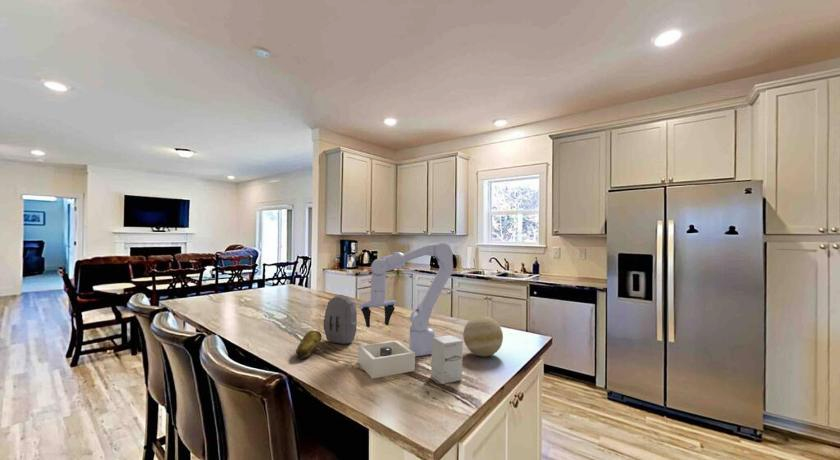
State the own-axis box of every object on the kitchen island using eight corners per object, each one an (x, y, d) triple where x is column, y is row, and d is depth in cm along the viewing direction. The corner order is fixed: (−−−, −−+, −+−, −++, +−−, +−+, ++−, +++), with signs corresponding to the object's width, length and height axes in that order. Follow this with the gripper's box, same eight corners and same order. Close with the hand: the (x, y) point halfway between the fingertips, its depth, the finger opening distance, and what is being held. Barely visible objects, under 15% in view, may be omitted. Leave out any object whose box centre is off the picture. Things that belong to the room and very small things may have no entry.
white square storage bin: (396, 356, 127) (397, 340, 127) (414, 370, 114) (415, 352, 114) (357, 362, 120) (358, 345, 120) (372, 378, 107) (372, 359, 107)
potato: (286, 358, 123) (286, 335, 123) (311, 347, 135) (312, 327, 135) (303, 362, 119) (304, 339, 120) (328, 351, 131) (328, 330, 131)
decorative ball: (483, 365, 120) (484, 323, 120) (454, 353, 132) (455, 314, 132) (510, 357, 129) (511, 317, 129) (481, 346, 141) (482, 310, 141)
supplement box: (442, 385, 103) (443, 343, 104) (430, 375, 110) (431, 336, 110) (462, 380, 107) (463, 340, 107) (449, 372, 113) (450, 334, 114)
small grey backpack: (359, 342, 142) (360, 295, 143) (347, 348, 135) (349, 298, 135) (330, 337, 148) (332, 291, 149) (317, 343, 141) (319, 294, 141)
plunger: (394, 355, 125) (394, 342, 125) (407, 366, 115) (407, 351, 115) (364, 360, 119) (365, 346, 119) (375, 372, 109) (376, 356, 110)
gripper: (391, 287, 138) (390, 321, 137) (356, 289, 131) (355, 325, 131) (398, 290, 131) (397, 325, 131) (362, 292, 125) (361, 329, 124)
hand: (377, 325), depth 130 cm, fingers open, 7 cm apart
